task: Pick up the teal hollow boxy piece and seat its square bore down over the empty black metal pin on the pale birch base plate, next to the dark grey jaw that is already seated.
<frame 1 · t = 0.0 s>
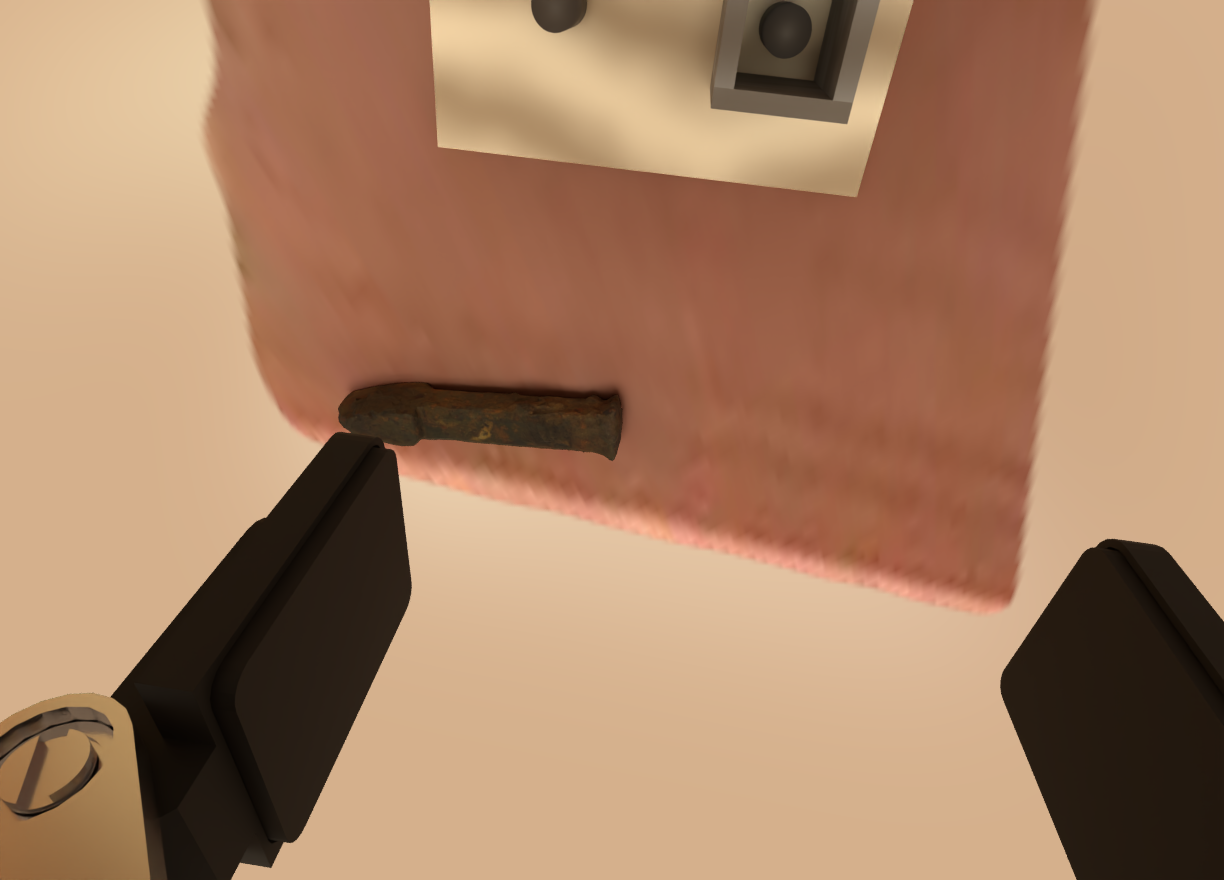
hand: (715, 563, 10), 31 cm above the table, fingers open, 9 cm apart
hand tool: (488, 406, 47), on the table
seat plate: (663, 12, 32), on the table
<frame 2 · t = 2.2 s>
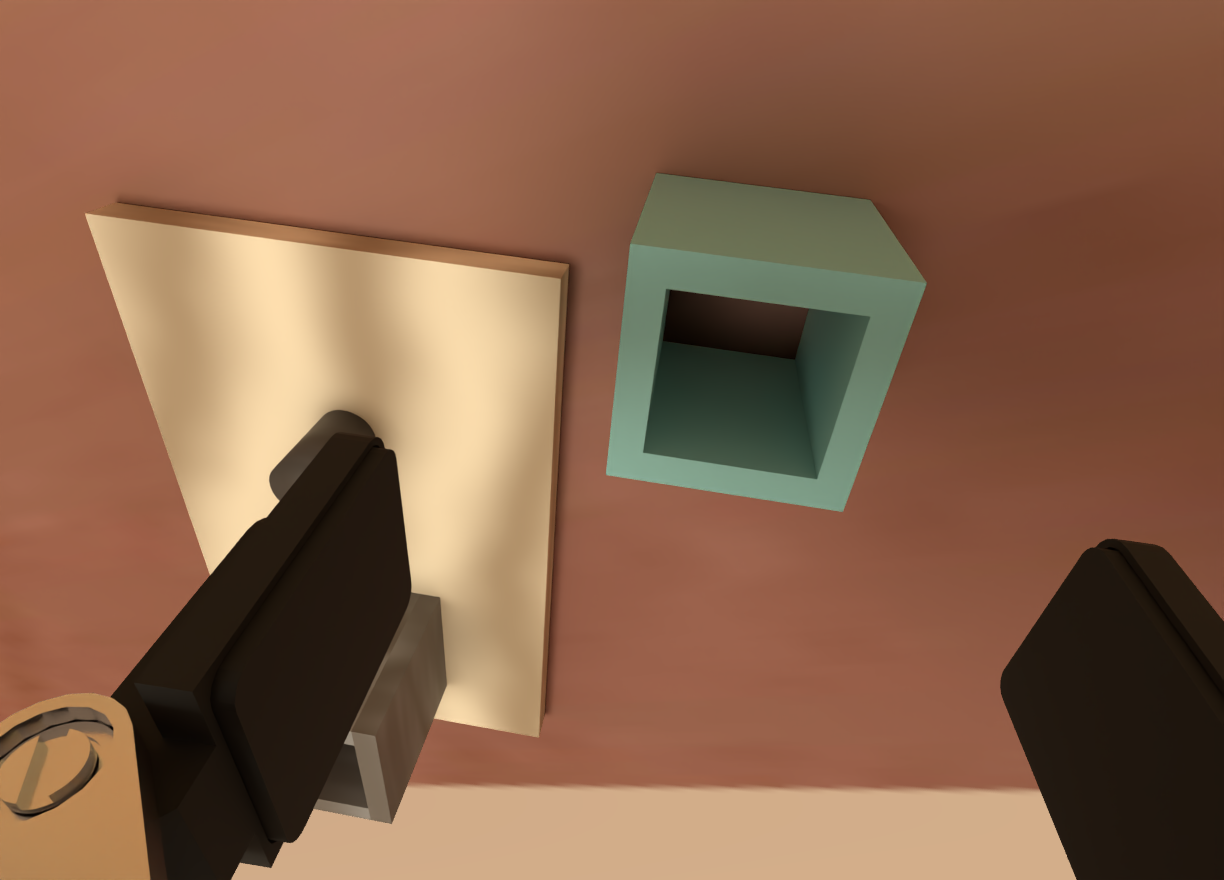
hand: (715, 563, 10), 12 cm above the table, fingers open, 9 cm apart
seat plate: (376, 514, 26), on the table
teal hollow boxy piece: (741, 287, 19), on the table
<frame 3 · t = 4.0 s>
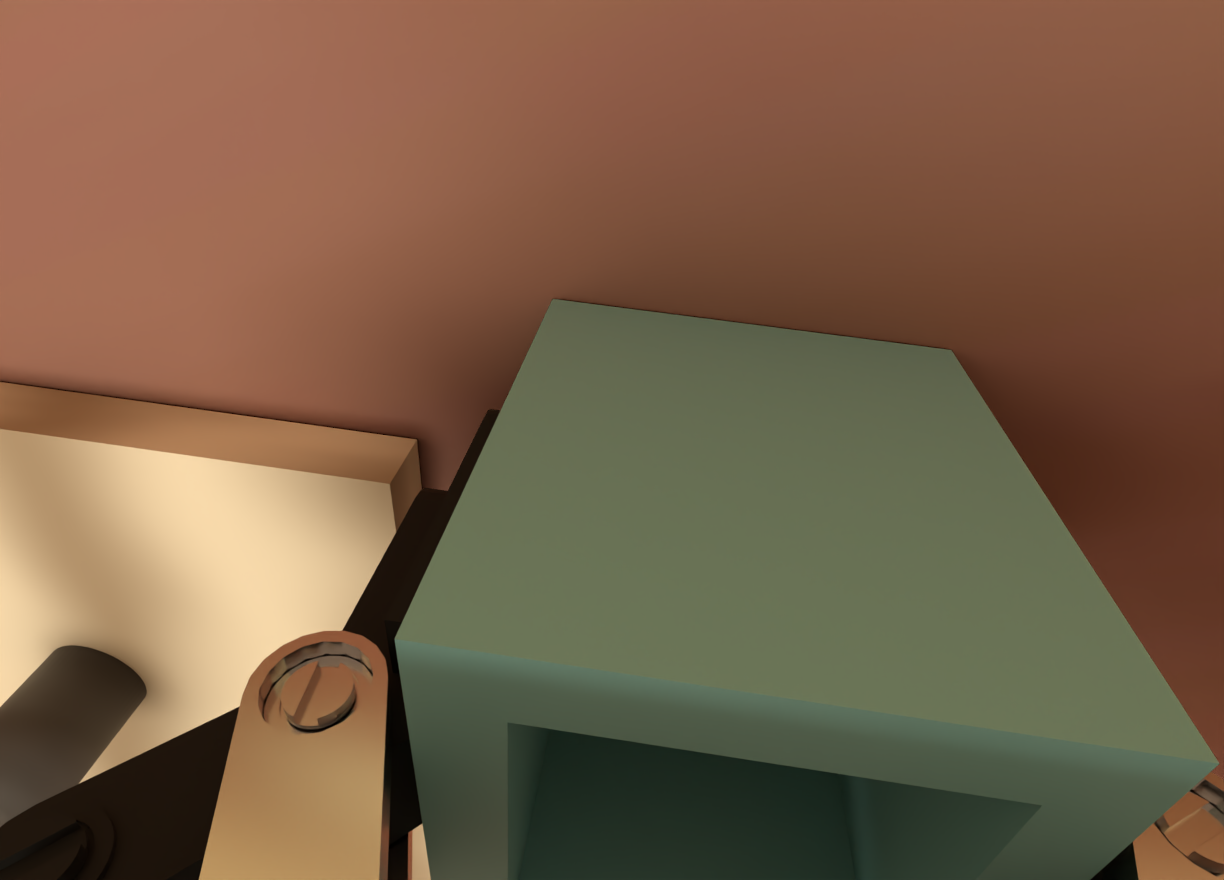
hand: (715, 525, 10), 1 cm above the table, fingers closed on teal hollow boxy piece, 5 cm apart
seat plate: (191, 742, 18), on the table
teal hollow boxy piece: (714, 479, 11), on the table, touching gripper
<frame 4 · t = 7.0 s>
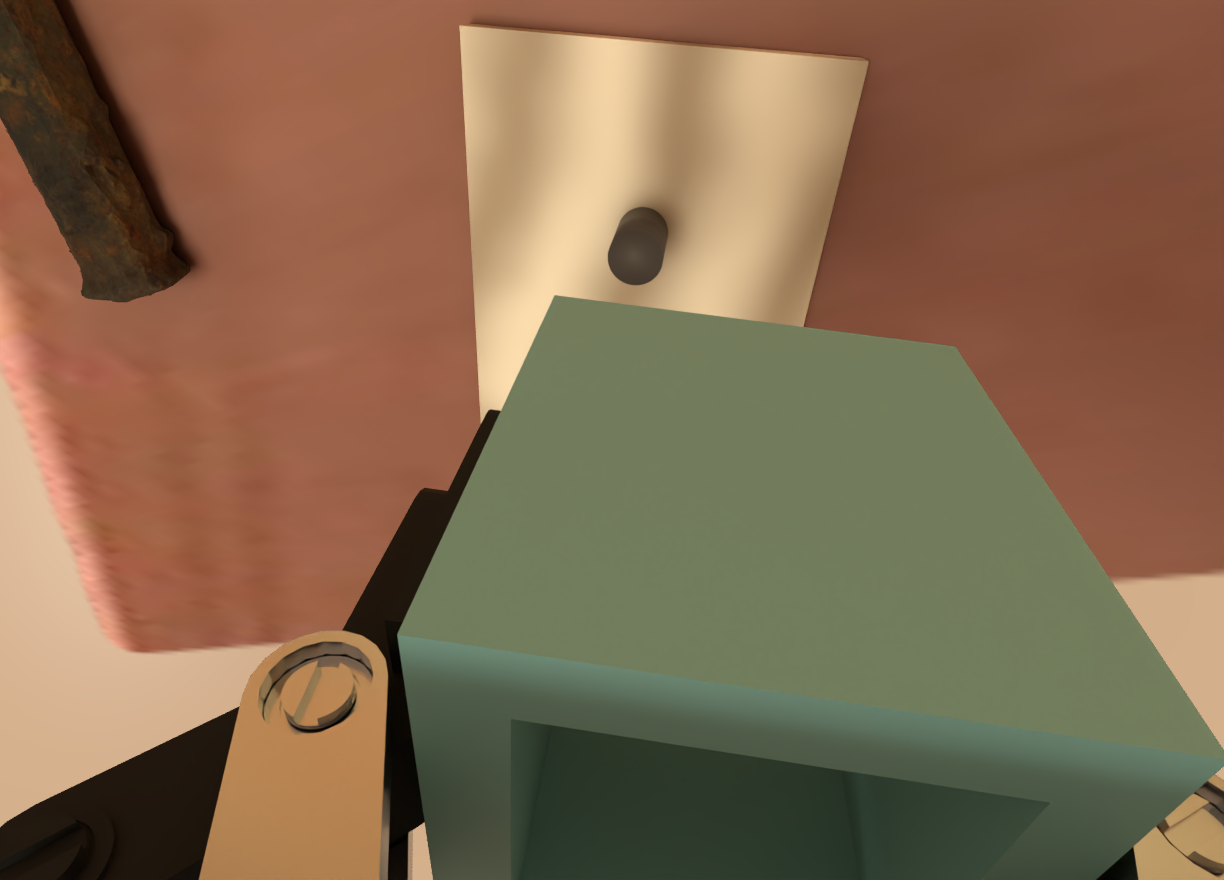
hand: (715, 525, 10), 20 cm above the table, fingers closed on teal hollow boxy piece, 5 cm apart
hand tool: (58, 47, 27), on the table
seat plate: (635, 324, 30), on the table
teal hollow boxy piece: (717, 477, 11), point 19 cm above the table, touching gripper
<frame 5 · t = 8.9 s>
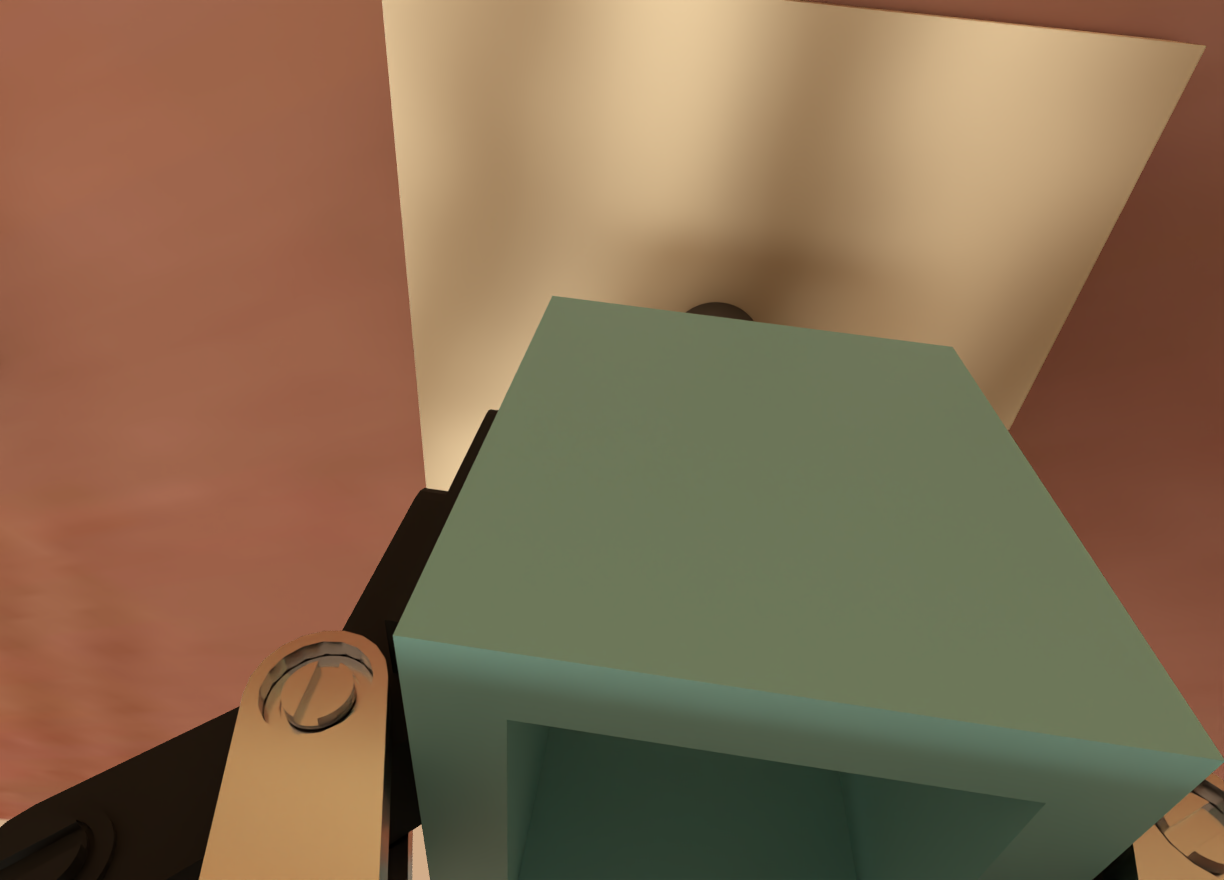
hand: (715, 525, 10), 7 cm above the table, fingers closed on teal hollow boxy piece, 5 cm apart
seat plate: (685, 470, 19), on the table
teal hollow boxy piece: (715, 477, 11), point 6 cm above the table, touching gripper
when the fingers open (3 cm above the table, at t = 10.1 s): teal hollow boxy piece stays where it is, resting on seat plate.
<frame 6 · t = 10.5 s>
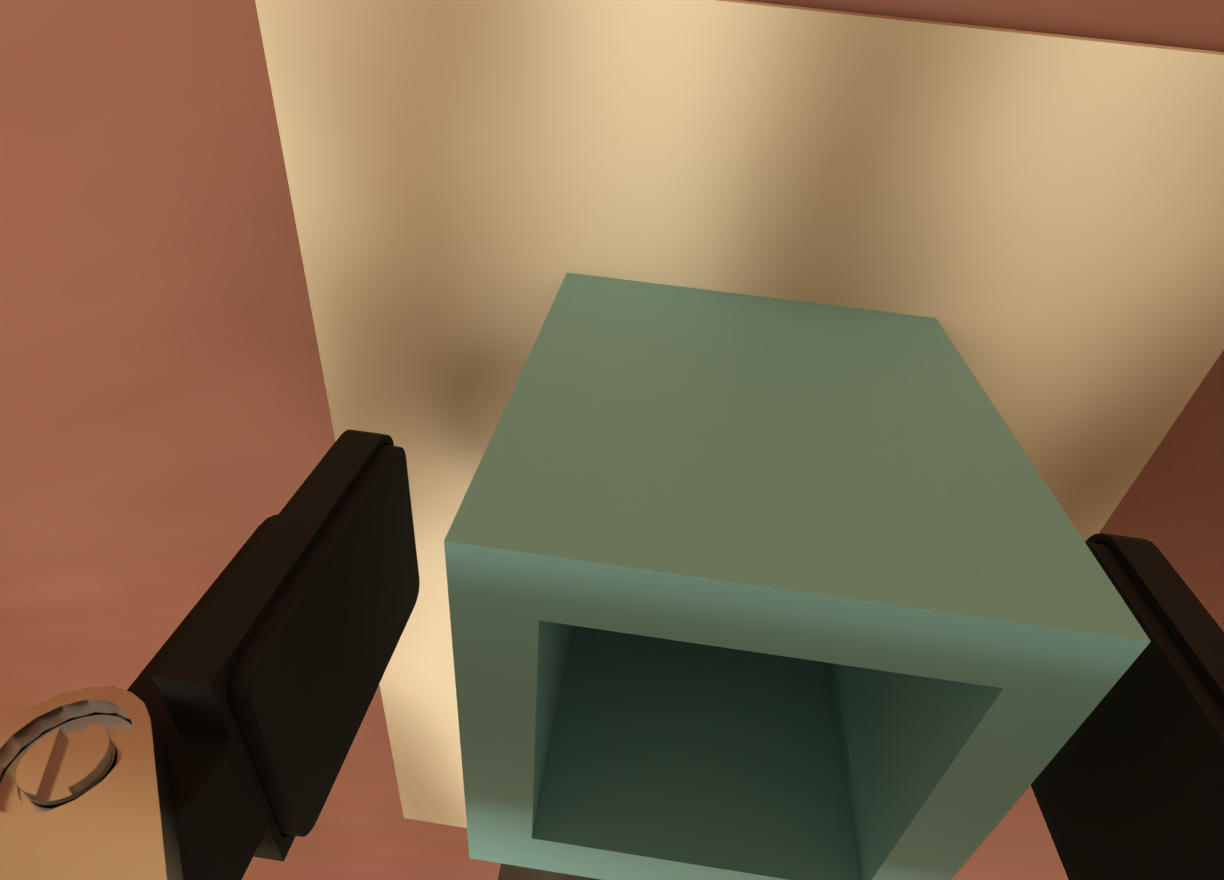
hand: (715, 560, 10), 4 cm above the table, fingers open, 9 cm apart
seat plate: (679, 575, 15), on the table
teal hollow boxy piece: (717, 444, 12), point 1 cm above the table, touching seat plate
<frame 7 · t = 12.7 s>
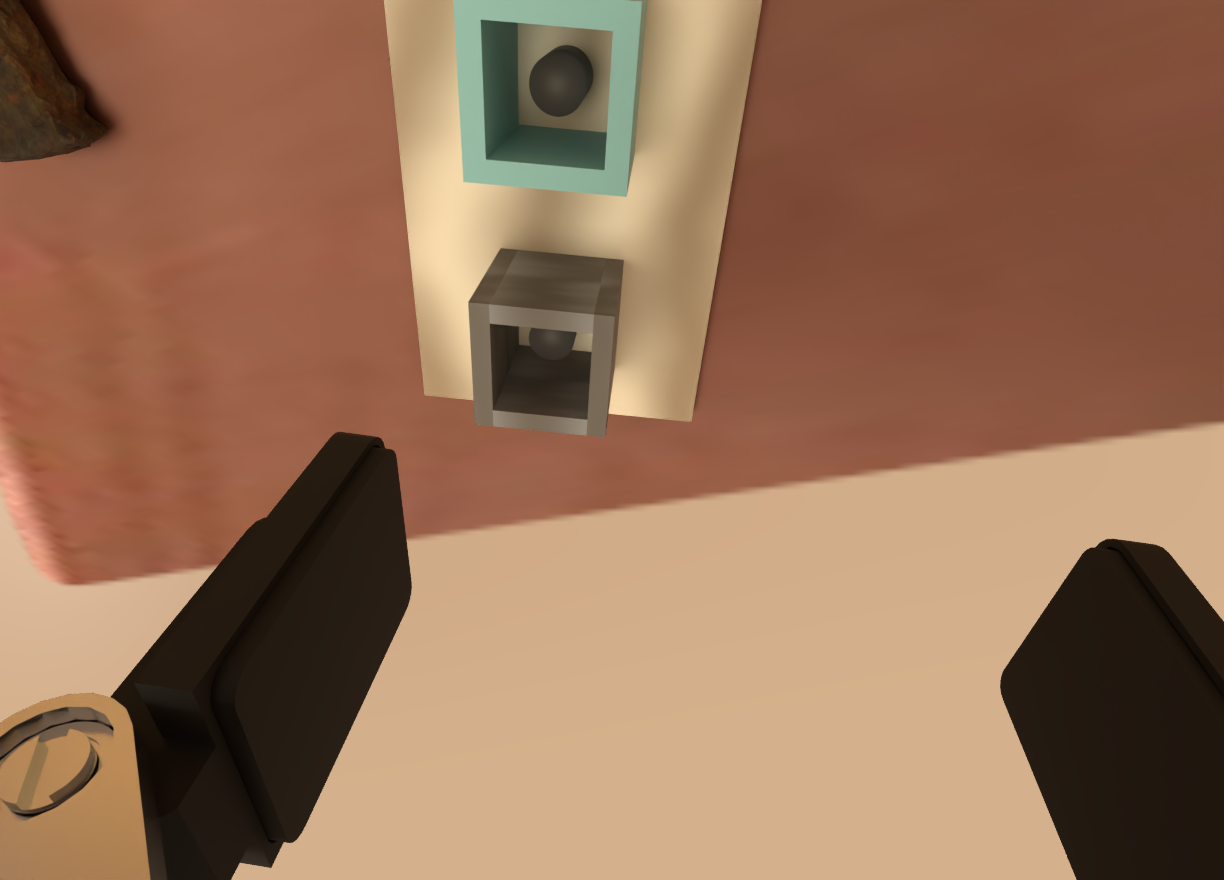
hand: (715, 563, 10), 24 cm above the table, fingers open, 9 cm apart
seat plate: (567, 185, 30), on the table
teal hollow boxy piece: (569, 73, 26), point 1 cm above the table, touching seat plate
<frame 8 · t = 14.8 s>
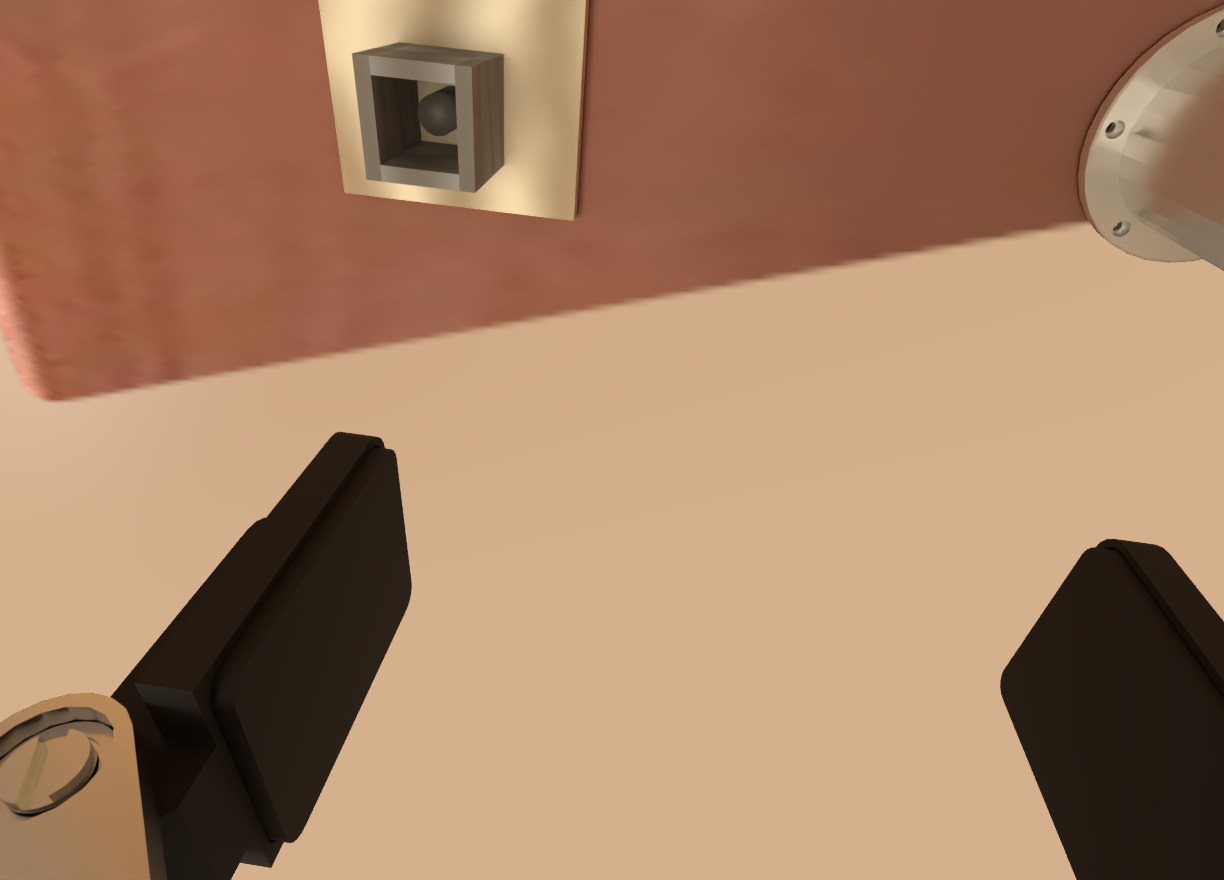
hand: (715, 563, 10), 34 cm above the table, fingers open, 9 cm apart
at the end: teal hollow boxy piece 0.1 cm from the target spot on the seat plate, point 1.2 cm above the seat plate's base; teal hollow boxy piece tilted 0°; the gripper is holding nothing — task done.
